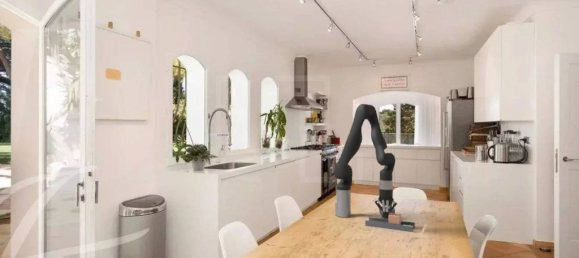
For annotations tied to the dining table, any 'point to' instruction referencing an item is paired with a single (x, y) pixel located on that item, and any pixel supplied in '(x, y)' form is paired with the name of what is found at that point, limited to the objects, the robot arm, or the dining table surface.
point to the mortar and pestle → (389, 211)
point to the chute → (384, 224)
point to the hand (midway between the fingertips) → (385, 218)
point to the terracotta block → (394, 218)
